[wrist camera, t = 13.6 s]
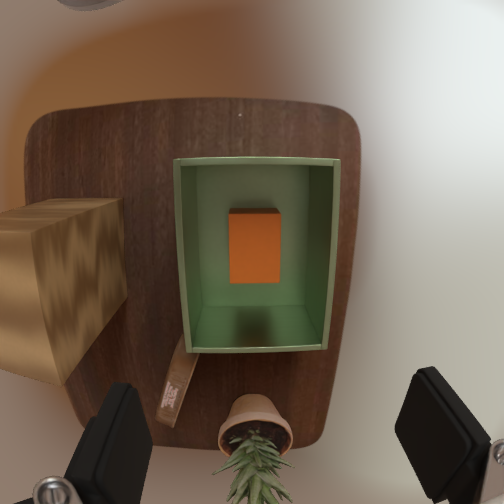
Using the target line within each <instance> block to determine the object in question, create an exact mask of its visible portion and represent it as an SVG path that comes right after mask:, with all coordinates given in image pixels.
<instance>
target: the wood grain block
mask: <svg viewBox="0 0 504 504" xmlns="http://www.w3.org/2000/svg"><path fill="white" fill-rule="evenodd" d="M127 297H128V293H127V281H126V266H125V248H124V216H123V198H56V199H49V200H45V201H41V202H38V203H34V204H30V205H27V206H23V207H20V208H16V209H13V210H9V211H6V212H2V213H0V369H2V370H5V371H9V372H12V373H15V374H18V375H21V376H24V377H28V378H31V379H35V380H38V381H42V382H46V383H49V384H53V385H57V386H63V384H64V383H65V382H66V380H67V379H68V377H69V376H70V374H71V373H72V371H73V370H74V369H75V367H76V366H77V364H78V363H79V361H80V360H81V359H82V357H83V356H84V354H85V353H86V352H87V350H88V349H89V348H90V346H91V345H92V343H93V342H94V341H95V339H96V338H97V337H98V335H99V334H100V333H101V331H102V330H103V328H104V327H105V326H106V324H107V323H108V322H109V320H110V319H111V318H112V317H113V315H114V314H115V313H116V311H117V310H118V309H119V307H120V306H121V305H122V303H123V302H124V301H125V300H126V298H127Z"/></svg>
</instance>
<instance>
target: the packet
mask: <svg viewBox="0 0 504 504" xmlns="http://www.w3.org/2000/svg"><path fill="white" fill-rule="evenodd" d="M228 225H229V271H230V284H240V283H280V255H281V213H280V212H279V210H278V209H277V208H230V210H229V214H228Z"/></svg>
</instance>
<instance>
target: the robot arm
mask: <svg viewBox="0 0 504 504" xmlns="http://www.w3.org/2000/svg"><path fill="white" fill-rule="evenodd" d="M395 433H396V435H397V437H398V439H399V441H400V443H401V445H402V447H403V449H404V451H405V453H406V455H407V457H408V459H409V461H410V463H411V465H412V467H413V469H414V471H415V473H416V475H417V477H418V479H419V481H420V483H421V485H422V487H423V490H424V492H425V494H426V496H427V497H428V498H429V499H432V501H433V503H434V504H436V503H439V502H441V501H444V500H446V499H448V501H449V504H504V439H499V440H497V441H495V442H494V443H493V444H491V443H490V440H491V438H490V437H489V435H488V434H487V433H486V431H485V430H484V429H483V427H482V426H481V425H480V423H479V422H478V421H477V419H476V418H475V417H474V415H473V414H472V413H471V412H470V410H469V409H468V408H467V406H466V405H465V404H464V403H463V401H462V400H461V399H460V398H459V396H458V395H457V394H456V392H455V391H454V390H453V389H452V388H451V386H450V385H449V384H448V383H447V381H446V380H445V379H444V378H443V376H442V375H441V374H440V373H439V372H438V370H437V369H436V368H435V367H433V366H431V367H426V368H421V369H418V370H417V372H416V374H414V375H413V377H412V380H411V383H410V386H409V389H408V391H407V394H406V397H405V400H404V403H403V405H402V408H401V411H400V413H399V416H398V418H397V421H396V424H395ZM152 446H153V442H152V438H151V435H150V431H149V428H148V425H147V422H146V419H145V415H144V412H143V409H142V405H141V402H140V398H139V394H138V391H137V389H136V388H132V385H131V384H129V383H119V382H114V383H112V385H111V387H110V389H109V391H108V393H107V395H106V398H105V400H104V402H103V404H102V406H101V408H100V410H99V413H98V415H97V417H94V416H93V417H92V418H90V420H89V422H88V424H87V426H86V428H85V430H84V432H83V434H82V437H81V439H80V441H79V443H78V445H77V448H76V450H75V452H74V454H73V457H72V459H71V461H70V463H69V466H68V468H67V470H66V473H65V475H64V477H63V478H62V477H60V476H49V477H45V478H43V479H41V480H40V481H39V482H38V483H37V484H36V485H35V487H34V489H33V494H32V495H33V497H32V498H29V499H26V500H23V501H20V502H17V503H14V504H140V500H141V495H142V491H143V486H144V481H145V478H146V473H147V469H148V465H149V460H150V456H151V452H152Z"/></svg>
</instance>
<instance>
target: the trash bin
mask: <svg viewBox="0 0 504 504" xmlns="http://www.w3.org/2000/svg"><path fill="white" fill-rule="evenodd" d="M173 179H174V208H175V229H176V246H177V261H178V274H179V286H180V298H181V308H182V318H183V328H184V337H185V345H186V352H187V353H262V352H289V351H307V350H321V349H327V346H328V338H329V329H330V320H331V311H332V301H333V291H334V280H335V268H336V255H337V240H338V222H339V199H340V159H325V158H300V157H209V158H184V159H173ZM230 208H277V209H278V210H279V212H280V213H281V255H280V283H240V284H230V271H229V225H228V214H229V210H230Z"/></svg>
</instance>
